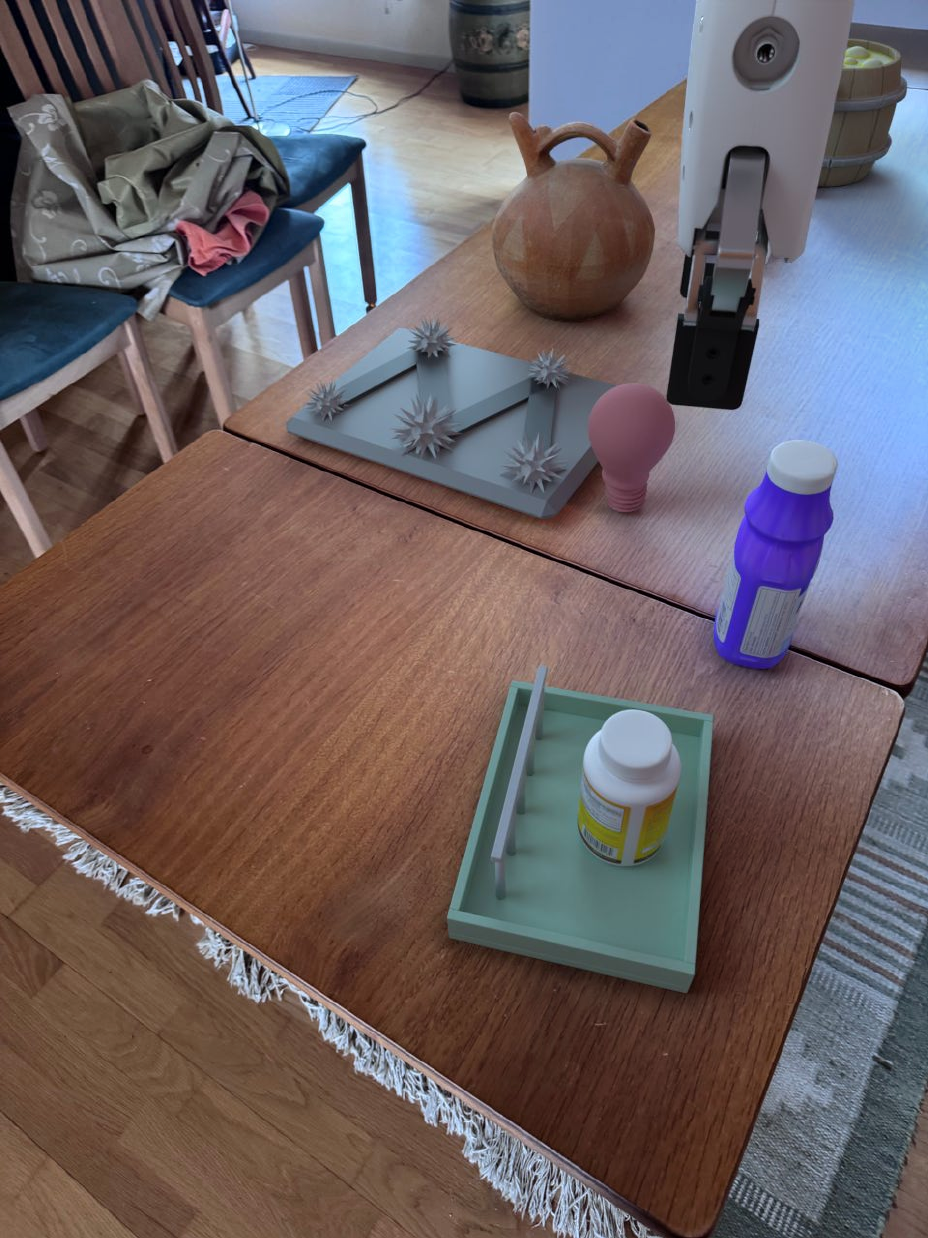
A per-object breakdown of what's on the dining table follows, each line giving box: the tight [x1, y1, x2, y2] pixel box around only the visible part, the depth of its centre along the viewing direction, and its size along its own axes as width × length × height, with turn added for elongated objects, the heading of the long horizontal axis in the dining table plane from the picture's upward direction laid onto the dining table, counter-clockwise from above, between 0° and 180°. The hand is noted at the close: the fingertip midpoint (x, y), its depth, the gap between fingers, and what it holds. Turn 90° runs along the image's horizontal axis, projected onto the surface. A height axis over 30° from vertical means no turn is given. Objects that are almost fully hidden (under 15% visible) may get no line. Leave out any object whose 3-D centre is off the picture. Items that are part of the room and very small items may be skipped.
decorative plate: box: [285, 316, 619, 521], centre depth 86 cm, size 30×22×7 cm
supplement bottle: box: [578, 710, 681, 866], centre depth 52 cm, size 6×6×10 cm
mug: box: [817, 38, 908, 188], centre depth 122 cm, size 19×25×15 cm
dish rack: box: [446, 664, 715, 994], centre depth 54 cm, size 14×18×7 cm
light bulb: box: [588, 382, 676, 513], centre depth 74 cm, size 7×7×12 cm
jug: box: [491, 111, 656, 323], centre depth 98 cm, size 18×18×20 cm
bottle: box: [713, 439, 839, 670], centre depth 61 cm, size 7×6×17 cm
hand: (707, 346), depth 41 cm, fingers open, 9 cm apart
